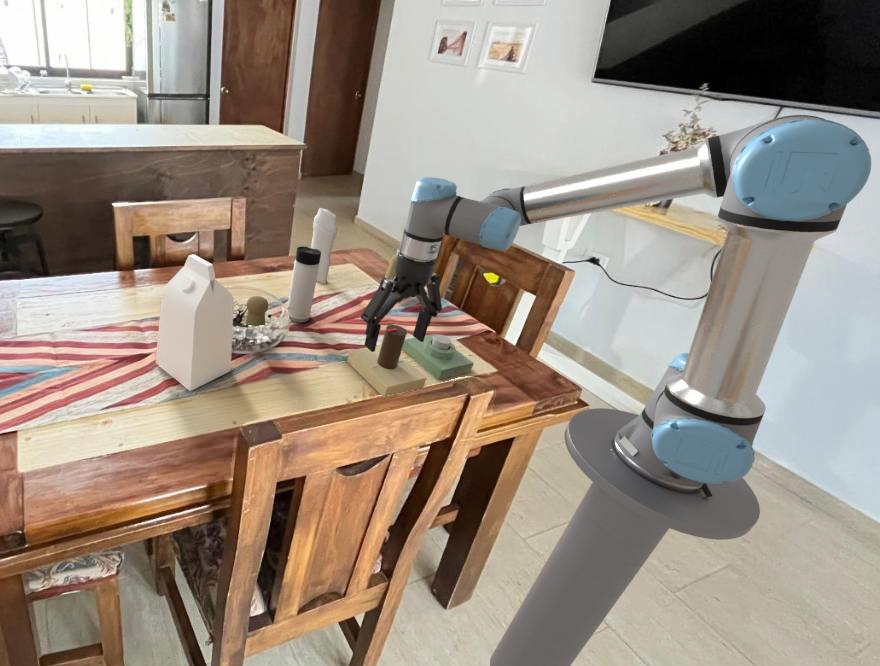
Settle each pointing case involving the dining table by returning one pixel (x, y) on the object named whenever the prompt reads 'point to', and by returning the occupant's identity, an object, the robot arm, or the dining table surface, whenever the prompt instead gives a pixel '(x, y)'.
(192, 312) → the milk
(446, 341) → the grey rounded lump
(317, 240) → the white rounded cylinder
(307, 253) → the travel mug
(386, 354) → the brown upright cylinder
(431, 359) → the green slab
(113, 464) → the dining table surface
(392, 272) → the squeeze bottle
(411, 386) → the beige slab
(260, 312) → the cork
